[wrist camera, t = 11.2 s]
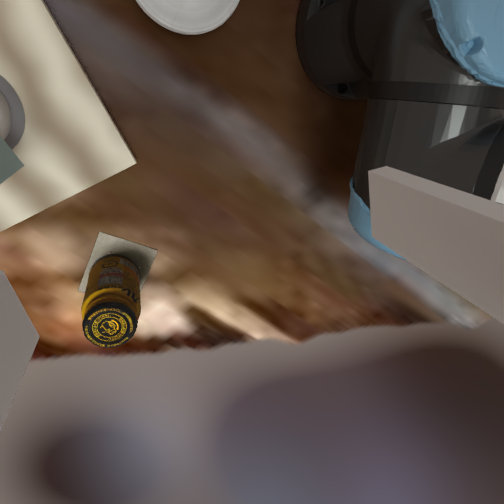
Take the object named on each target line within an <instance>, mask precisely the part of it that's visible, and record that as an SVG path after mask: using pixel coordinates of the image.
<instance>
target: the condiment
mask: <svg viewBox="0 0 504 504" xmlns="http://www.w3.org/2000/svg"><path fill="white" fill-rule="evenodd" d="M111 251H113V252H111ZM109 252H110V254H108V253H109ZM156 254H157V250H154V249H151V248H149V247H146V246H143V245H139V244H137V243H133V242H130V241H127V240H124V239H121V238H117V237H114V236H111V235H108V234H104V233H101V232H99V235H98V238H97V240H96V243H95V246H94V249H93V251H92V254H91V257H90V259H89V262H88V265H87V268H86V270H85V273H84V276H83V279H82V281H81V284H80V287H79V290H78V291H79V292H83V293H85V296H84V300H83V304H82V309H81V310H82V319H83V322H82V323H83V324H82V326H83V331H84V335H85V337H86V338H87V339H88V340H89V341H90V342H92V343H93V344H95V345H97V346H102V347H106V348H109V347H117V346H119V345H122V344H125V343H126V342H127V341H128V340H129V339H130V338H132V337H133V335H134V333H135V332H136V328H137V323H138V319H139V316H140V312H141V305H140V292H141V289H142V287H143V284H144V282H145V280H146V277H147V275H148V273H149V270H150V268H151V265H152V263H153V261H154V258H155V256H156ZM139 267H140V268H139Z"/></svg>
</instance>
